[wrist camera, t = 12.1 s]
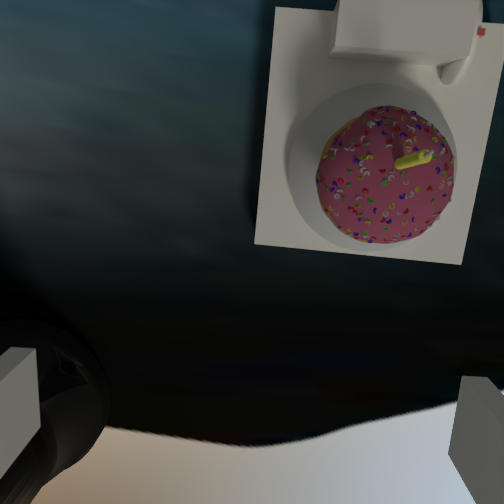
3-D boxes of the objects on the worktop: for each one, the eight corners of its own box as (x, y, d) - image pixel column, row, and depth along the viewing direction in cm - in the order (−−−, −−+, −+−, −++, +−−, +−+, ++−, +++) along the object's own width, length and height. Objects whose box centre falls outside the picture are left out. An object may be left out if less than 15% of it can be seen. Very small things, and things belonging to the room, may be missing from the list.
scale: (256, 235, 40) (249, 260, 32) (278, -2, 35) (275, -40, 28) (448, 254, 39) (487, 285, 31) (496, 14, 34) (556, -20, 27)
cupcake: (334, 95, 33) (360, 76, 21) (451, 130, 33) (540, 129, 21) (298, 212, 35) (303, 252, 24) (407, 244, 35) (466, 300, 24)
